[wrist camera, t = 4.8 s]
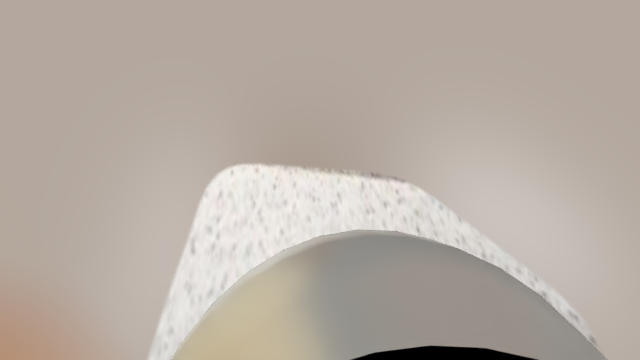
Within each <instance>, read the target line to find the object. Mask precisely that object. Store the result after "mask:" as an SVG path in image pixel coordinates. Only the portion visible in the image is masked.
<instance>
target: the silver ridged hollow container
mask: <svg viewBox="0 0 640 360" xmlns="http://www.w3.org/2000/svg"><path fill="white" fill-rule="evenodd" d="M171 360H607V359H606V358H605V357H604V356H603V355H602V354H601V353H600V352H599V351H598V350H597V349H596V348H595V347H594V346H593V345H592V344H591V343H590V342H589V341H588V340H587V339H586V338H585V337H584V336H583V335H582V334H581V333H580V332H579V331H578V330H577V329H576V328H575V327H574V326H573V325H572V324H571V323H570V322H568V321H567V320H566V319H565V318H564V317H563V316H562V315H561V314H560V313H559V312H558V311H557V310H556V309H555V308H554V307H553V306H552V305H551V304H549V303H548V302H547V301H546V300H545V299H544V298H543V297H542V296H541V295H539V294H538V293H536V292H535V291H533V290H532V289H530V288H529V287H527V286H526V285H524V284H523V283H522V282H520V281H519V280H517V279H516V278H514V277H513V276H511V275H510V274H508V273H507V272H505V271H504V270H503V269H501V268H499V267H497V266H495V265H493V264H491V263H488V262H486V261H484V260H482V259H480V258H477V257H475V256H473V255H471V254H469V253H466V252H464V251H462V250H460V249H458V248H455V247H452V246H449V245H446V244H444V243H441V242H438V241H435V240H431V239H427V238H423V237H419V236H415V235H410V234H406V233H402V232H398V231H381V230H353V231H347V232H341V233H335V234H329V235H323V236H319V237H316V238H313V239H311V240H308V241H306V242H303V243H300V244H298V245H295V246H292V247H290V248H287V249H285V250H282V251H281V252H279V253H278V254H276V255H274V256H273V257H271V258H269V259H268V260H266V261H265V262H263V263H261V264H260V265H258V266H257V267H255V268H253V269H252V270H250V271H249V272H247V273H246V274H245V275H244V276H242V277H241V278H240V279H239V280H238V281H237V282H236V283H235V284H234V285H232V286H231V287H230V288H229V289H228V290H227V291H226V292H225V293H224V294H223V295H221V296H220V297H219V298H218V299H217V300H216V301H215V302H214V303H213V304H212V305H211V306H210V307H209V308H208V310H207V311H206V312H205V314H204V315H203V316H202V317H201V319H200V320H199V321H198V322H197V324H196V325H195V326H194V328H193V329H192V330H191V331H190V333H189V334H188V335H187V336H186V338H185V339H184V340H183V341H182V343H181V344H180V346H179V347H178V349H177V350H176V352H175V354H174V355H173V357H172V359H171Z"/></svg>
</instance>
